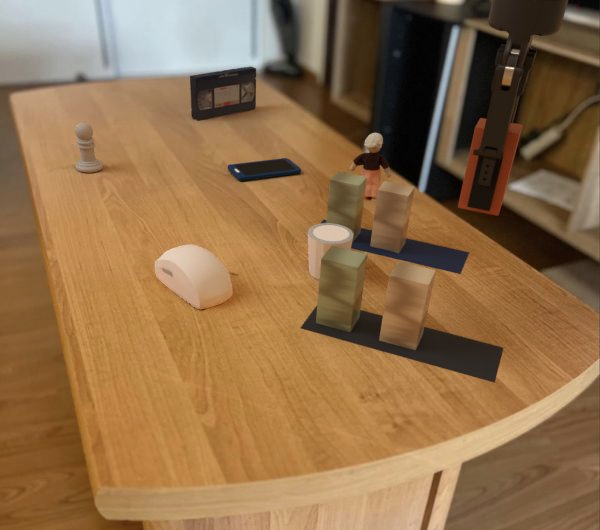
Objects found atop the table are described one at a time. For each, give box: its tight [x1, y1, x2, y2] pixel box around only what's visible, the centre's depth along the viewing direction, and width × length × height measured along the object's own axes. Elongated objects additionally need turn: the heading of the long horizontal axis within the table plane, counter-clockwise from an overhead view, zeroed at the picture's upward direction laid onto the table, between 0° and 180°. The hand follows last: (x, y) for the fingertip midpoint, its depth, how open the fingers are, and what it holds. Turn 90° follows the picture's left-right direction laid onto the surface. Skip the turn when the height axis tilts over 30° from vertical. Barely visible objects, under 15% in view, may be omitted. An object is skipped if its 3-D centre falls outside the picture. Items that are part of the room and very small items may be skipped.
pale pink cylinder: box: [307, 222, 354, 280], centre depth 96 cm, size 7×7×7 cm
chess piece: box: [74, 122, 104, 174], centre depth 123 cm, size 5×5×9 cm
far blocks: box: [325, 171, 416, 253], centre depth 104 cm, size 13×4×10 cm, turn 68°
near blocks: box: [316, 246, 437, 350], centre depth 83 cm, size 14×4×10 cm, turn 68°
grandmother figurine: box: [349, 132, 392, 203], centre depth 117 cm, size 8×4×13 cm, turn 88°
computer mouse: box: [154, 243, 233, 310], centre depth 91 cm, size 6×13×6 cm, turn 42°
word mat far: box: [306, 219, 470, 275], centre depth 106 cm, size 26×8×1 cm, turn 68°
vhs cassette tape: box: [189, 66, 257, 121], centre depth 156 cm, size 18×3×10 cm, turn 130°
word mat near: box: [300, 305, 504, 384], centre depth 85 cm, size 26×8×1 cm, turn 68°
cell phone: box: [227, 157, 302, 182], centre depth 129 cm, size 7×14×1 cm, turn 115°
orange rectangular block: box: [457, 117, 524, 217], centre depth 77 cm, size 5×4×10 cm
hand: (481, 200), depth 79 cm, fingers closed on orange rectangular block, 4 cm apart
